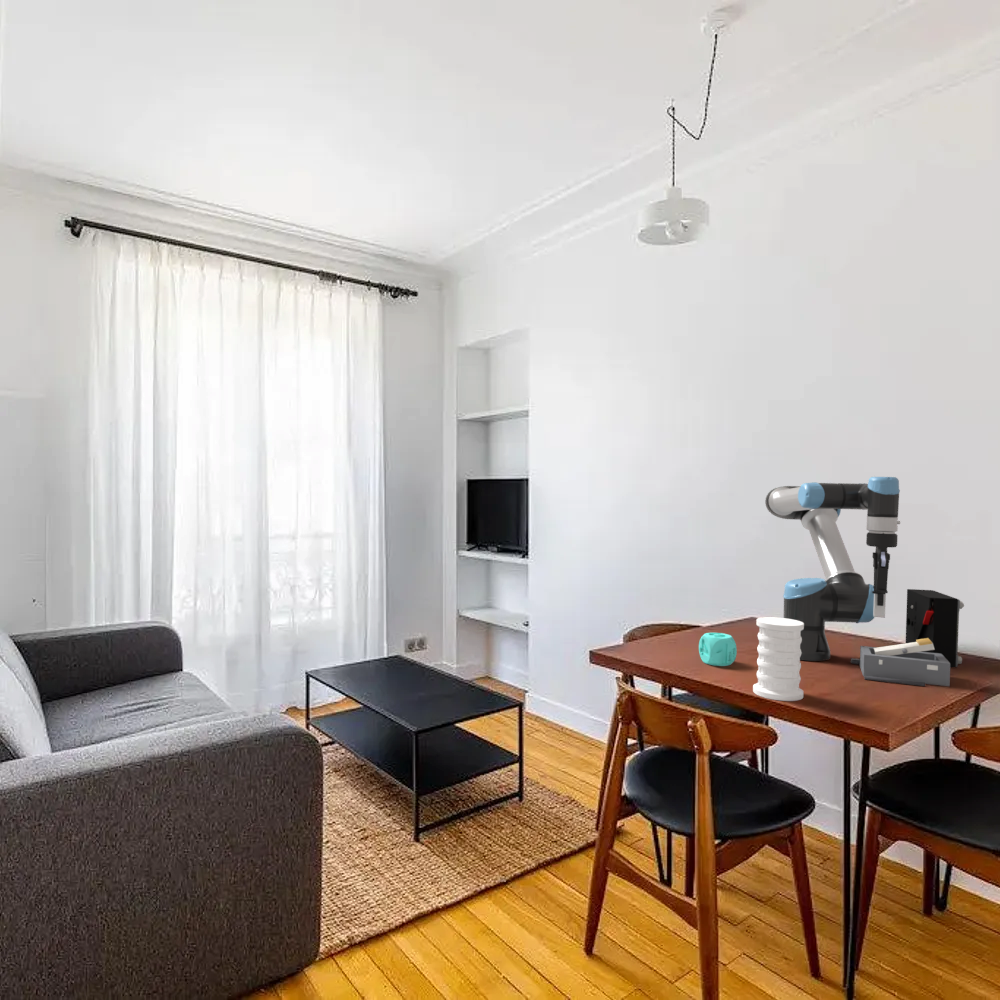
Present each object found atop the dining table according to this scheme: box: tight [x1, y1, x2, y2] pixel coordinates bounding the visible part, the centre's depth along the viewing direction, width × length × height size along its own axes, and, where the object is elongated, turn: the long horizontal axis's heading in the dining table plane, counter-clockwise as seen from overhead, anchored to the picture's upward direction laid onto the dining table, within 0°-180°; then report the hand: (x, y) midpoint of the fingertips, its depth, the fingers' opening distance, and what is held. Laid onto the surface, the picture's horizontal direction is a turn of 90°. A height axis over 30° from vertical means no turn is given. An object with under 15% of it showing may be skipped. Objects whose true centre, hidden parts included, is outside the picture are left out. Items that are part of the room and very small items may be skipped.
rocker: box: [874, 638, 935, 656], centre depth 190 cm, size 14×6×2 cm, turn 67°
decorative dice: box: [698, 632, 738, 667], centre depth 201 cm, size 8×8×8 cm
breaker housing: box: [859, 645, 951, 687], centre depth 190 cm, size 20×12×6 cm, turn 67°
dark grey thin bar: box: [863, 676, 926, 687], centre depth 183 cm, size 14×1×1 cm, turn 67°
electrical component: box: [905, 588, 965, 668], centre depth 209 cm, size 18×10×20 cm, turn 168°
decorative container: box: [752, 616, 804, 702], centre depth 171 cm, size 12×12×18 cm
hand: (879, 616), depth 192 cm, fingers closed
